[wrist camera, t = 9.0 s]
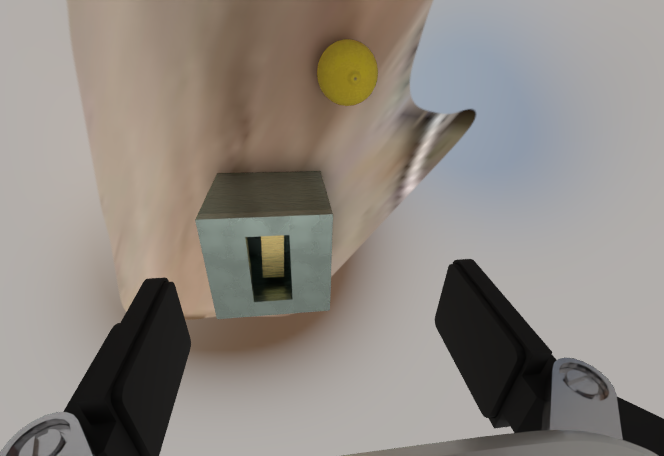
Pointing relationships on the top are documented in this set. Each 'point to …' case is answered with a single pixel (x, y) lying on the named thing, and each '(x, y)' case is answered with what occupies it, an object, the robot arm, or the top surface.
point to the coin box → (245, 242)
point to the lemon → (347, 72)
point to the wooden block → (272, 256)
